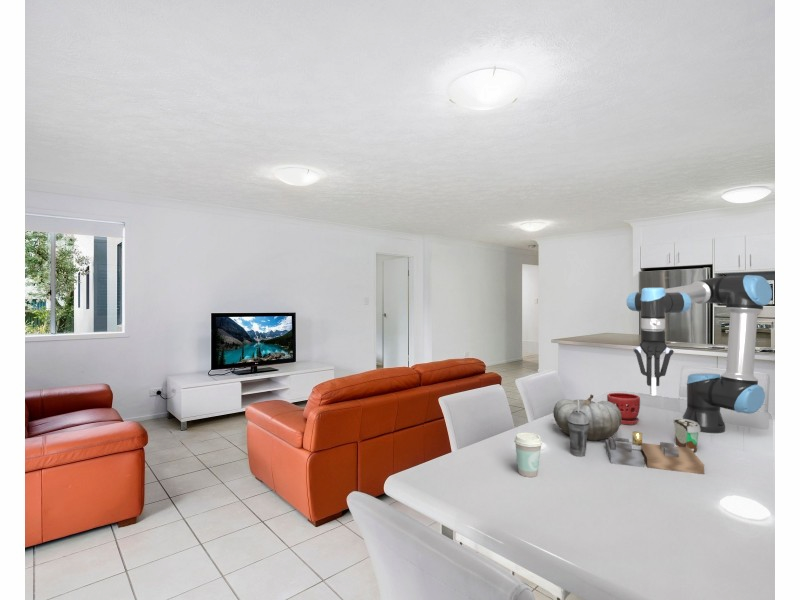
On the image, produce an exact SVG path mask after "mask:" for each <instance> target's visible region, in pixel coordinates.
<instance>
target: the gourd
mask: <svg viewBox="0 0 800 600" xmlns="http://www.w3.org/2000/svg"><path fill="white" fill-rule="evenodd" d="M593 398H594V394H589V397H588V398H586V399H579V411H582V412H584V413H585V414H586V415H587V417H588V419H589V428H588V432H587V441H593V442H594V441H601V440H602V439H609V437H613V435H615V434H617V432H618V430H619V429H620V426H621V425H622V424H621V420H622V416H621V412H620V410H619V409H618V407H617V406H616V404H613V403H611V402H609V401H607V400H601V401H598V402H595V401H593ZM573 411H578V399H565V398H564V399H560V400H558V401H557V402H556V403H555V404H554V408H553V411H552V413H553V415H552V416H553V418H554V421H555V424H556V425H557V426H558V428H559V429H560V430H561V431H562V432H563V433H565V434H566V435H569V436H570V432H569V426H568V417H569V415H570V414H571V413H572V412H573Z"/></svg>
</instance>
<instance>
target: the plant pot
mask: <svg viewBox="0 0 800 600" xmlns="http://www.w3.org/2000/svg"><path fill="white" fill-rule="evenodd" d="M606 401H609V402H611V403H613V404H615V405H616V406H617V407H618V409H619V410H620V412H621V416H622V420H621V424H620V425H636V424H637V423H638V422H639V421H640V419H639V418H638V416H639V413H640V407H641V397H640V395H637V394H632V393H628V392H627V393H626V392H612V393H608V394H607V395H606Z"/></svg>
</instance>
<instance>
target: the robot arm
mask: <svg viewBox="0 0 800 600" xmlns="http://www.w3.org/2000/svg"><path fill="white" fill-rule="evenodd" d="M772 297H773V290H772V287H771V284H770V283H769V282H768V280H767V279H766V278H765V277H764V276H762V275H753V274H752V275H751V274H747V275H730V276H729V275H728V276H727V275H725V276H724V275H723V276H722V275H721V276H716V277H710V278H706V279H702V280H696V281H694V282H692V283H691V284H688V285H687V284H686V285H681V286H676V287H675V286H674V287H669V288H665V287H643V288H642V289H641V292H640V291H637V292H632V293H630V294H628V296H627V298H626V306H627V308H628V309H629V310H630V311H633V312H641V313H640V314H641V316H640V317H641V318H640V329H641V331H640V335H641V336H640V338H641V339H640V343H639V346H637V347H635V348H633V349H632V351H633V352H634V354H635V355H636V356H635V357H636V359H637V363H638V367H639V371H640V374H642V375H643V376H646V385H647V386H648V387H649V394H650V396H653V397H654V396H657V387H660V378H661V377H665V376H666V374H667V370H668V366H669V363H670V359H671V357H672V356H673V354H674V352H675V351H674V350H673V349H672V348H669V347H668V346H667V344H666V331H664V330H665V329H666V314H677V313H678V314H680V313H686V312H687V311H689V309H691V307H692V304H695V303H696V304H699V305H702V304H714V305H715V304H716V305H717V304H719V305H725V309H726V310H727V312H729V313H730V314H729V325H728V328H729V329H728V338H727V339H728V340H727V341H728V343H727V355H726V369H725V372H724V373H722V374H718V373H706V372H705V373H702V372H701V373H691V374H689V375H688V376H687V382H686V409H685V412H684V414H683V416H682V419H688V420H692V421H695V422H697V423H698V424H699V426H700V429H701V431H700V432H703V433H710V434H711V433H713V434H714V433H715V434H716V433H717V434H719V433H724V432H725V431H726V425H725V421H724V419H723V416H722V413H721V409H726V410H730V411H735V412H736V413H741V414H743V413H744V414H747V415H748V414H749V415H750V414H751V415H752V414H754V413H757V412H758V411H759V410H760V409H761V408H762V406H763V404H764V403H765V398H766V393H765V391H764V388H763V387H762V386H761V385H759V379H758V378H757V377H756V376H755V375H754V370H755V359H756V358H755V357H756V344H757V343H756V342H757V341H756V340H757V327H758V315H759V313H761V312H762V311H764V306H767V305H769V304H770V303H771V300H772ZM642 351H643V353H644V354H645V356H646V357H645V358H646V360H645V361H646V364H645V365H646V368H645V365H644V361H643V358H642V355H641V353H642ZM663 353H664V354H665V355H664V356H663V357H664V358H663V360H662V365H661V362H660V360H661V355H662V354H663ZM653 357H654V358H653ZM652 358H653V359H654V360H653V362H654V364H653V363H652ZM652 365H654V368H653V369H654V375H652V374H653V372H652V371H653V370H652ZM660 366H661V367H660Z"/></svg>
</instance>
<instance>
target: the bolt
mask: <svg viewBox="0 0 800 600" xmlns="http://www.w3.org/2000/svg"><path fill="white" fill-rule="evenodd" d="M615 442H618V443H628V444H631V445H632V449H636V450H641V446H642V443H643V432H640V431H637V430H636V431H632V442H633V443H630V442H631V441H629V442H620V441H615Z"/></svg>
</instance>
